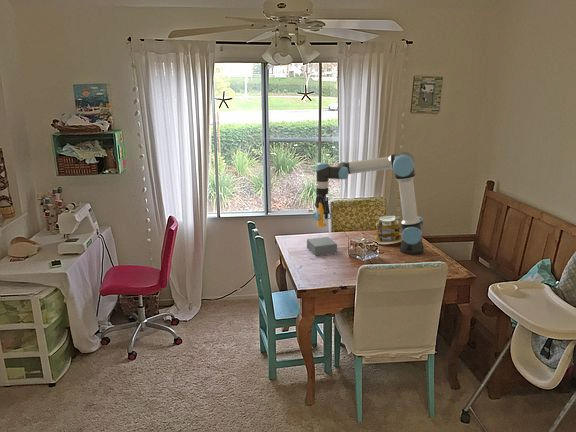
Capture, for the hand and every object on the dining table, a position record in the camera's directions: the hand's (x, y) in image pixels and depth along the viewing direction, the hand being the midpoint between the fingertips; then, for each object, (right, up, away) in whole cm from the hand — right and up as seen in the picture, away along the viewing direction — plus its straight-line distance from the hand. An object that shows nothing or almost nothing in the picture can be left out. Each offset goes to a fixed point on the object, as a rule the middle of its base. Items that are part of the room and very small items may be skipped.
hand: (321, 220), depth 314 cm
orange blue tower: (0, -3, +1) cm, 4 cm away
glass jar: (+47, -14, +23) cm, 54 cm away
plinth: (0, -19, +6) cm, 20 cm away
